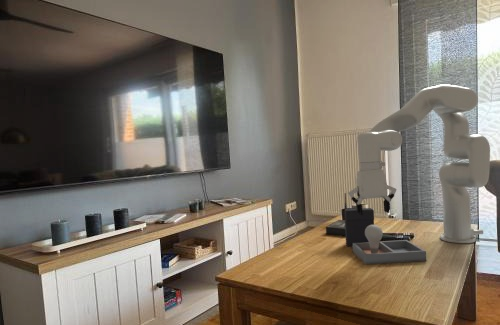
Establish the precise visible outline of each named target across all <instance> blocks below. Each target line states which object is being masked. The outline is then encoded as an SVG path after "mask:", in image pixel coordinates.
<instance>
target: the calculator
mask: <svg viewBox="0 0 500 325" xmlns="http://www.w3.org/2000/svg"><path fill="white" fill-rule="evenodd" d="M343 211H344V220H345V234H346V237H345V245H346V246H347V247H348V248H349V247H350V248H351V247H352V248H353V243H364V242H369V241H368V239H367V238H366V236H365V229H366V228H367V227H368V226H369V225H375V210H374V209H373V208H371V207H365V208H364V207H362V211H363V215H359V214H358V213H357V209H356V208H347V209H345V208H344V210H343Z"/></svg>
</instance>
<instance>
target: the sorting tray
mask: <svg viewBox="0 0 500 325" xmlns="http://www.w3.org/2000/svg"><path fill="white" fill-rule="evenodd" d="M352 253H353V254H354V255H355V256H357V258H358V259H359V260H360V261H362V263H363V264H365V265H367V266H368V265H370V266H371V265H383V264H385V265H386V264H399V263H401V264H402V263H417V262H419V263H420V262H427V251H426V250H425V249H424V248H421V246H418V245H416V244H415V243H413V242H411V241H409V240H408V239H403V240H402V239H401V240H400V239H399V240H385V241H384V240H383V241H381V240H380V242H379V248H378V253H371V250H370V245H369V242H364V243H353V247H352Z"/></svg>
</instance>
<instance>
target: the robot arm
mask: <svg viewBox="0 0 500 325" xmlns="http://www.w3.org/2000/svg"><path fill="white" fill-rule="evenodd" d="M478 102H479V97H478V94H477V92H476V91H475V90H474V89H472V88H470V87H464V86H459V85H453V84H452V85H451V84H438V85H435V86H429V87H426V88H423V89H421V90H419V91H418V92H416V94H414V95H413V97H411V99H410V100H408V101H407V102H406V103H405V104H404V105H403V106H402V107H401V108H400V109H399V110H397V111H395V112H393V113H392V114H391V115H389V116H387V117H385V118H384V119H382V120H380V121H379V122H378V123H376V124H375V125H374V126H373V127H372V128H371V129H370V130H369V131H368V132H361V133H358V135H357V136H356V138H357V151H358V152H357V153H358V154H357V156H358V166H359V169H358V170H357V171H356V178H355V179H356V181H355V183H356V184H355V188H353V189H351V190H350V191H348V192H347V195H348V196H349V198H350V200H351V201H353V203H355V205H356V206H355V207H356V208H355V209H357V213H358V214H359V215H363V211H362V208H363V204H362V202H363V200H369V199H379V198H383V201H382V202H383V211H384V212H385V213H388V214H389V213H390V210H391V201H392V200H393V198H394V197H395V195H396V192H397V188H395V187H393V186H391V185H388V184H387V179H386V174H385V171H384V170H385V169H383V167H385V166H386V162H384V161H382V157H381V156H382V155H381V151H383V152H391V151H395V150H398V149H399V148H400V147H401V146H402V144H403V136H402V134H401V133H400V132H403V131H407V130H409V129H412V128H414V127H416V126H418V125H419V124H421V122H422V121H423V120H424V119H425V118H426V117H427V116H428V114H430V113H431V112H432V111H433V112H434V113H436V115H437V116H439V117H440V119H441V121H442V122H443V126H444V133H443V134H444V135H443V136H444V137H443V138H444V139H443V151H444V155H445V157H446V158H448V159H453V160H468V162H461V161H460V162H457V161H456V162H447V163H444V164H442V165H441V166H440V168H439V171H438V178H439V181H440V185H441V192H442V212H443V213H442V215H443V216H442V218H443V233H441V234H440V235H439V239H440V240H442V241H445V242H448V243H452V244H453V243H454V244H472V243H475V242H476V241H477V238H476V235H483V234H484V229H475V228H472V221H471V220H472V218H471V197H470V196H471V195H470V193H469V191H468V189H467V188H477V189H478V188H483V187H485V186H486V185H487V183H488V182H489V179H490V171H491V170H490V169H491V168H490V166H491V165H490V163H491V146H490V143H489V140H488V139H487V137H486V136H484V135H481V134H470V124H469V123H470V122H469V120H468V118H467V117H466V115H465V114H464V113H465V112H469V111H472V110H474V109H475V108H476V107H477V105H478ZM388 190H390V192H389V194H388ZM355 194H356V196H357V197H355V196H354V195H355Z"/></svg>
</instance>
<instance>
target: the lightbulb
mask: <svg viewBox="0 0 500 325" xmlns="http://www.w3.org/2000/svg"><path fill="white" fill-rule="evenodd" d="M383 235H384V232H383V230H382V228H381V227H380V226H379V225H377V224H374V225H369V226H368V227H367V228H366V229H365V236H366V238H367V239H368V241H369V245H370V250H371V253H378V248H379V242H381V240H382V238H383Z"/></svg>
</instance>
